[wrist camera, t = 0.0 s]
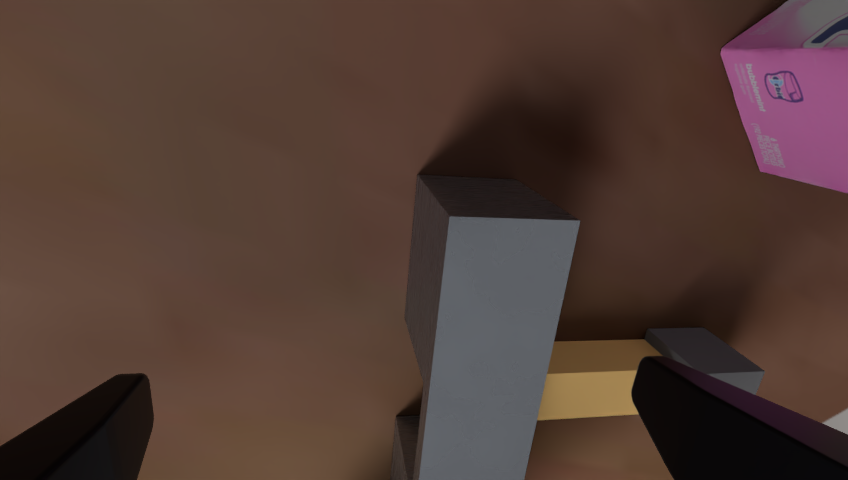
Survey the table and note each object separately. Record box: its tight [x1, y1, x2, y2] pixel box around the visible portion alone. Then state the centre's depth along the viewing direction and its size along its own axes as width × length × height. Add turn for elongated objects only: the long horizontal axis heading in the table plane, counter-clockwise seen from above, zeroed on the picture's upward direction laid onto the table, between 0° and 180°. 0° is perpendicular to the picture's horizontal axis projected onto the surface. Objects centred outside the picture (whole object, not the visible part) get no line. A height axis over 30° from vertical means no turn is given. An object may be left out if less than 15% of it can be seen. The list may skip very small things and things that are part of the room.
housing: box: [390, 174, 580, 480], centre depth 24 cm, size 22×5×6 cm, turn 175°
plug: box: [537, 327, 765, 420], centre depth 26 cm, size 4×16×4 cm, turn 85°
